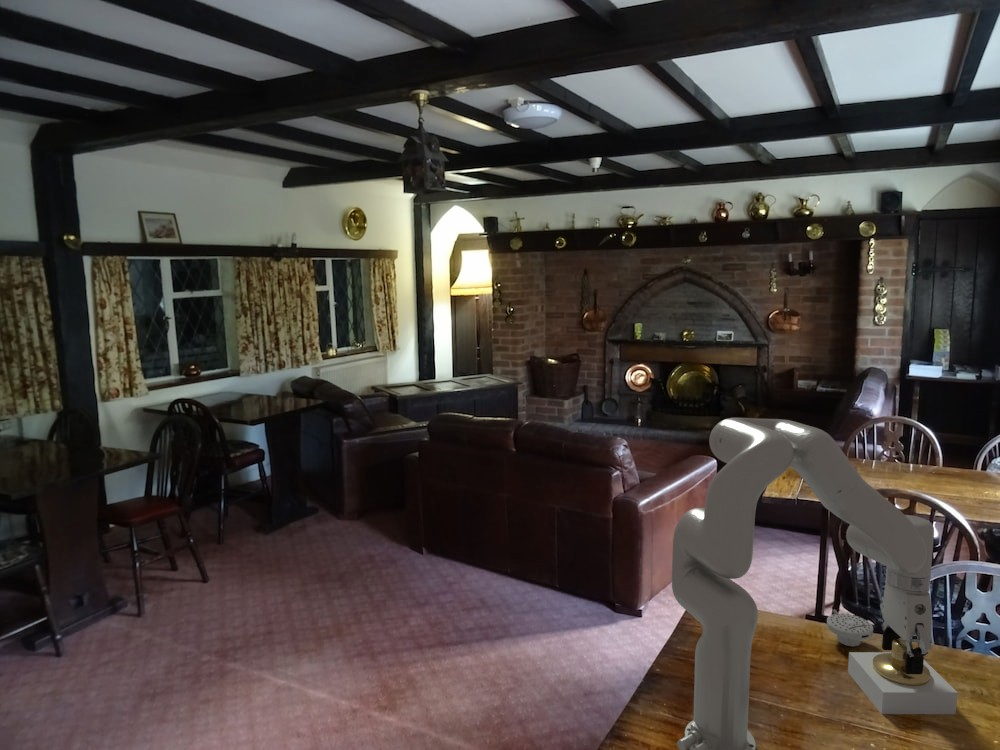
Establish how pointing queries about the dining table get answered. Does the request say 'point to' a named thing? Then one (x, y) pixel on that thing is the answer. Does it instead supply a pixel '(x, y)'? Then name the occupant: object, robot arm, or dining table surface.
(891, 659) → the end cover
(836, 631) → the showerhead
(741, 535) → the robot arm
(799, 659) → the dining table surface
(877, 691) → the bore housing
